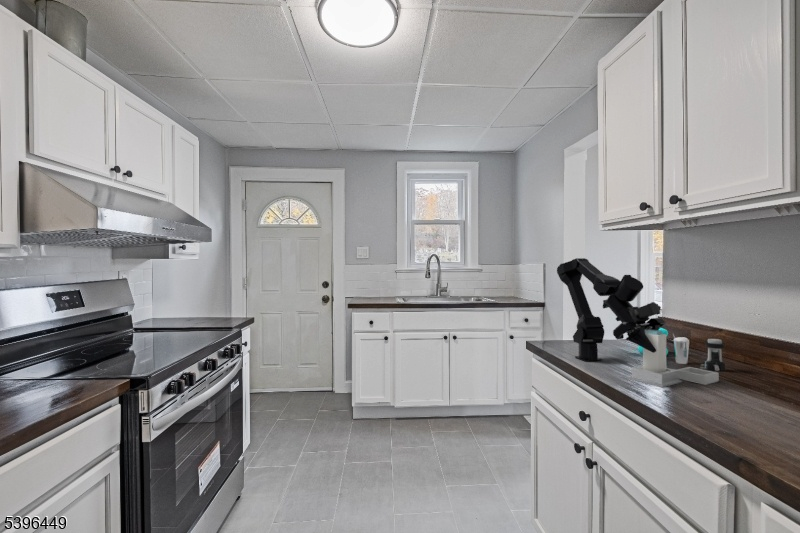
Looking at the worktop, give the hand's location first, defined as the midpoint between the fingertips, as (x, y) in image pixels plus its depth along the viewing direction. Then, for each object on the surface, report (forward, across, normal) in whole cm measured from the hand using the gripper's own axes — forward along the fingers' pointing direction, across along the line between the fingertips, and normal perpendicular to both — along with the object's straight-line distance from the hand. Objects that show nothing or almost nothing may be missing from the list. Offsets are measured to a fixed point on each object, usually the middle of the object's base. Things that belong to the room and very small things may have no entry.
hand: (659, 351), depth 119 cm
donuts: (-9, +35, +23) cm, 43 cm away
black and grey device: (+7, +28, +6) cm, 30 cm away
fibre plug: (+4, 0, +6) cm, 7 cm away
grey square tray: (+9, +12, +4) cm, 16 cm away
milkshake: (0, +29, +13) cm, 32 cm away
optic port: (+6, 0, +7) cm, 9 cm away
